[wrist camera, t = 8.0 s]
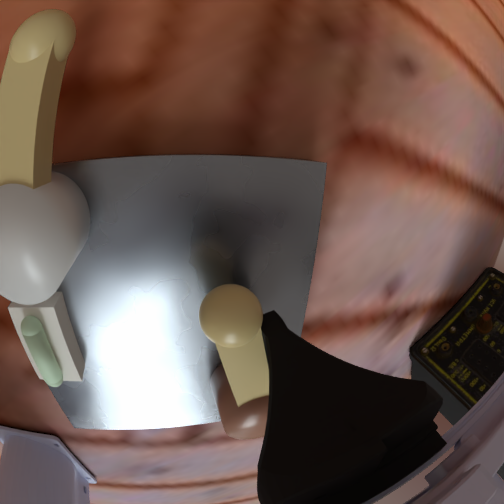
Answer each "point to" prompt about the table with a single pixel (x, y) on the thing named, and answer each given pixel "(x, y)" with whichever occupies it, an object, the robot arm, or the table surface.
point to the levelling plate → (178, 275)
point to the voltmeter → (465, 349)
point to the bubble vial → (49, 339)
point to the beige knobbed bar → (237, 359)
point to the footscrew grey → (36, 165)
